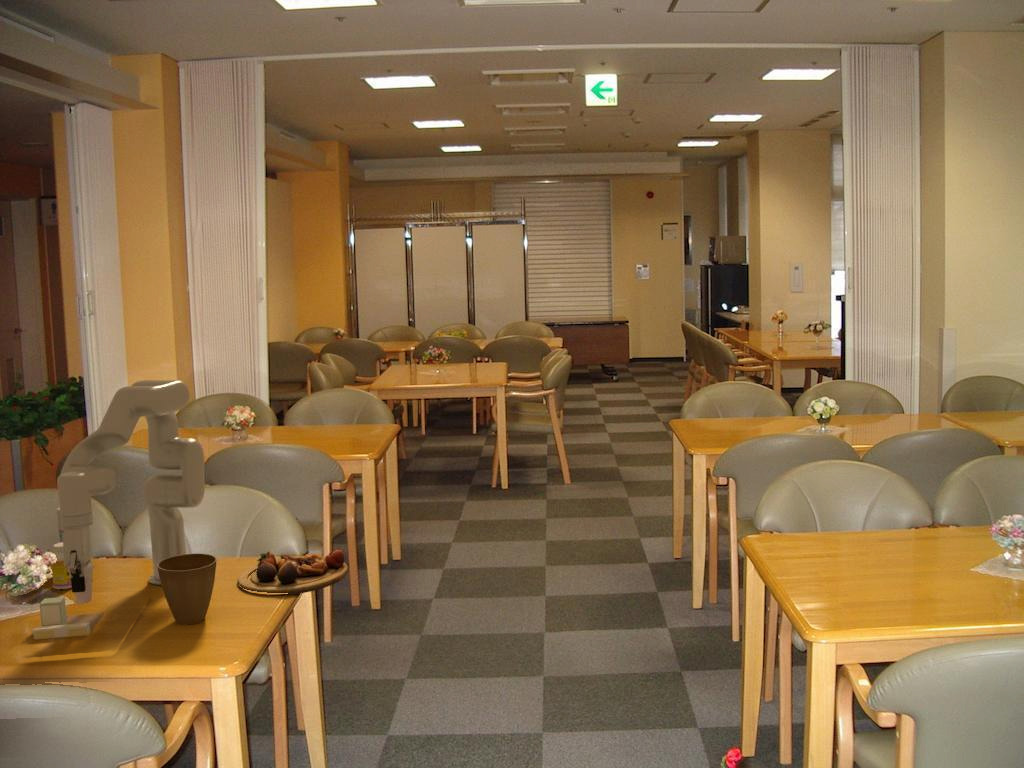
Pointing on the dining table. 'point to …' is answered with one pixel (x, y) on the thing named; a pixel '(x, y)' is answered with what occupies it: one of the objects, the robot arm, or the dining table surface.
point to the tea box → (53, 611)
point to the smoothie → (88, 574)
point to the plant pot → (188, 585)
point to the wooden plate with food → (294, 573)
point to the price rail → (61, 631)
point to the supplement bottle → (60, 569)
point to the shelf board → (84, 619)
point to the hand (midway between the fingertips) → (82, 586)
